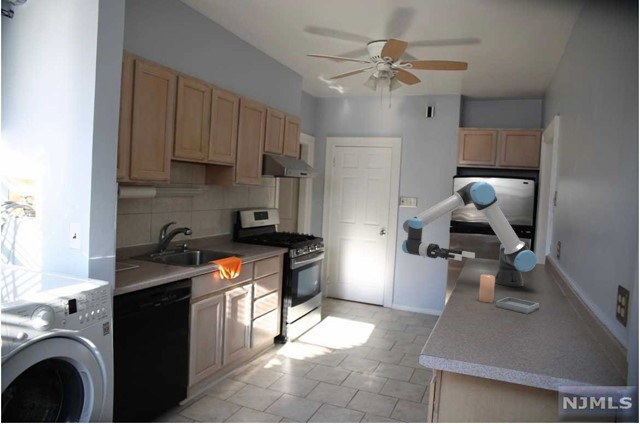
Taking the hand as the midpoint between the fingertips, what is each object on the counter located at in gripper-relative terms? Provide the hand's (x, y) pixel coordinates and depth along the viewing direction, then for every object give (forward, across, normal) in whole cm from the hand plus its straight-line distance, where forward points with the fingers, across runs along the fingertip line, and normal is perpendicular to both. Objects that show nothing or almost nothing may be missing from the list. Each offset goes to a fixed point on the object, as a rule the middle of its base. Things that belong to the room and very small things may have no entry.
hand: (468, 256), depth 216 cm
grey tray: (+25, 0, -19) cm, 32 cm away
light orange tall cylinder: (+10, 0, -19) cm, 22 cm away
